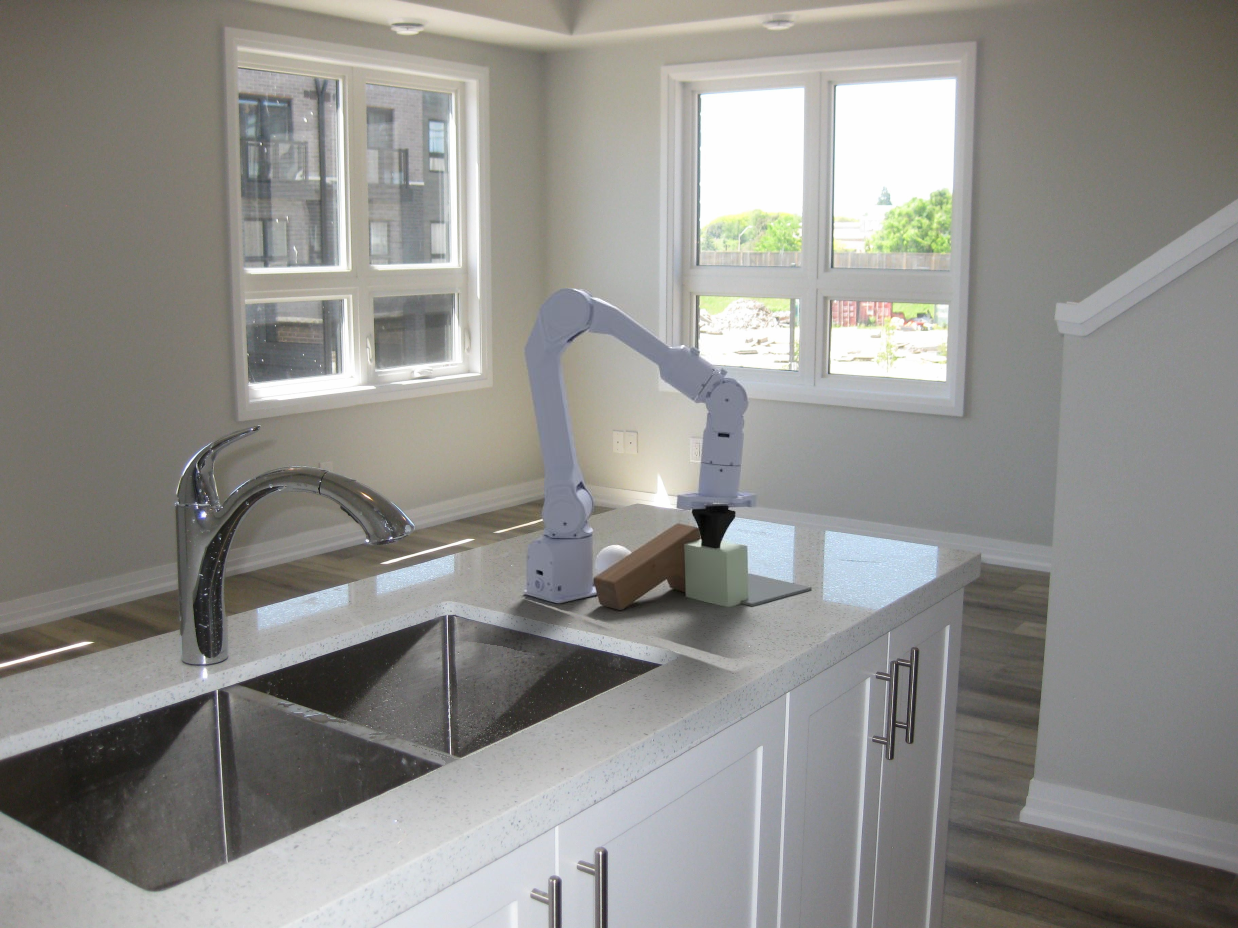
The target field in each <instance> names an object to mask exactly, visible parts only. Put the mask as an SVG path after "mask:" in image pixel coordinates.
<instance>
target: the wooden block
mask: <svg viewBox="0 0 1238 928" xmlns="http://www.w3.org/2000/svg"><path fill="white" fill-rule="evenodd" d="M699 539H701V536H700V532H699V529H698V526H693V525H688V524H683V523H675V524H674V525H672V526H670V527H669V528H667V529H666V530H664V531H663V532H661V533H660V534H659V535H657V536H655V537H654V538H652V539H651V540H649V541H648V542H646V543H644V544H643V545H641V546H640V547H639V548H637V549H635V550H634V551H633V552H631V554H629V555H628V556H626V557H625V558H623V559H621V560H620V561H618V562H617V563H615V564H614V565H612V566H611V567H609V568H608V569H606V570H605V571H603V572H602V573H600V574H598V575H597V574H596V575H595V576H593V585H594V587H595V588H596V592H597V595H596V596H597V599H598V602H599V604H600V606H603V607H607V608H610V609H614V610H617V611H623V610H624V609H626V608H627V607H629V606H630V605H632V604H633V603H635V601H637V600H639V599H641V598H642V597H643V596H644V595H646V594H647V593H649V592H650V591H651V590H653V589H655V588H656V587H657V586H659V585H660V584H662V583H663V582H665V581H667V583H668V587H669V588H670V589H672V590H676V591H680V592H683V593H686V584H685V553H684V544H686V543H689V542H692V541H696V540H699Z"/></svg>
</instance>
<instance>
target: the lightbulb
mask: <svg viewBox="0 0 1238 928" xmlns="http://www.w3.org/2000/svg"><path fill="white" fill-rule="evenodd" d="M631 553H632V552H631V551H630V550H629V549H628V548H627V547H625V546H622V545H619V544H612V545H609V546H605V547H604V548H603V549H601V550H600V551H599V552H598V554H597V556H596V557H595V562H594V563H595V564H594V570H595V572H596V576H597V575H598V574H600V573H602V572H603V571H605V570H606V569H608V568H609V567H611V566H612V565H614V564H615V563H617V562H618V561H620V560H621V559H623V558H625V557H626V556H628V555H629V554H631Z"/></svg>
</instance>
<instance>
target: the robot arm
mask: <svg viewBox="0 0 1238 928" xmlns="http://www.w3.org/2000/svg"><path fill="white" fill-rule="evenodd" d="M587 331H588V333H591V334H599V335H600V334H602V335H611V336H613V337H614V338H616V339H617V340H618V341H620V342H622V343H623V344H625V345H626V346H628V347H629V348H631V349H633V350H634V351H635V352H638V353H639V354H640V355H642V356H643V357H645V358H646V359H648V360H649V361H651V362H653V363H654V364H655V365H657V366H658V371H659V377H660V379H661V380H662V381H664V382H665V383H667V384H668V385H670V387H672V388H674V389H675V390H677V391H678V392H680V393H681V394H682V395H684V396H685V397H687V398H688V399H690V400H691V401H693V402H694V403H696V404H700V403H702V404H705V407H706V409H707V413H706V422H705V423H706V424H705V428H704V429H703V435H702V444H701V445H702V446H701V457H700V468H699V476H698V477H699V481H698V488H697V489H698V491H697V492H696V491H695V492H690V493H684V494H677V496H676V497H677V499H676V509H678V510H683V511H691V514H692V516H693V518H694V521H695V523H696V527H698V529H699V532H700V537H701V546H705V547H710V548H714V549H716V548H720V545H721V542H722V541H723V538H724V536H725V535H726V532H727V531H728V528H729V527H730V526H731V524H732V522H733V521H734V519H736V514H737V513H736V511H735V510H733V509H732V510H731V509H730V508H756V507H757V498H758V497H757V496H758V495H757V494H756V493H751V492H740V481H741V469H742V462H743V461H742V460H743V451H744V450H743V448H744V436H745V434H744V431H743V429H744V427H745V419H744V415H745V414H746V411H747V409H748V407H749V399H748V394H747V392H746V389H745V388H744V387H743V385H741V384H740V383H739V382H738V381H737V380H736V379H735V378H733V377H732V378H731V377H726V376H727V374H728V371H727V370H726V369H725V368H723V367H722V368H720V369H719V368H718V367H716V366H715V365H713V364H712V363H711V362H709V361H708V360H706V359H705V358H703V357H702V356H700V352H701V351H700V350H699V349H698V348H696V347H695V346H691V348H689V347H688V346H686V345H683V344H681V345H678V346H670V345H669V344H667V343H666V342H664V341H663V340H662V339H660V338H659V337H657V336H656V335H655V334H654V333H652V332H651V331H649V330H648V329H647V328H645V326H643V325H641V324H640V323H638V322H637V321H636V320H635V319H633V318H632V317H630V316H629V315H628V314H627V313H625V311H622V310H621V309H620V308H618V307H616V306H615V305H613V304H611V303H609V302H607V301H605V300H603V299H601V298H599V297H594V295H593V294H591V293H590V292H589V291H587V290H586V289H583V288H582V289H581V288H572V287H563V288H559V289H557V290H556V291H554V292H553V293H552V294H550V296H549V297H548V298H547V299H546V300H545V301H544V302H543V303H542V304H541V305H540V306H539V308H538V312H537V316H536V319H535V322H534V324H533V327H532V329H531V331H530V334H529V337H528V339H527V342H526V344H525V346H524V357H525V363H526V367H527V374H528V380H529V385H530V386H529V387H530V391H531V396H532V403H533V408H534V413H535V415H534V416H535V420H536V426H537V433H538V439H539V444H540V449H541V455H542V461H543V468H544V480H543V481H544V484H543V490H544V503H543V507H542V510H541V518H542V522H543V524H544V526H545V527H544V529H543V534H542V535H541V536H540V537H539V538H537V539H534V540H532V541H531V542H530V543H529V545H528V547H527V550H526V589H524V590H522V593H523V594H524V595H527V596H530V597H534V598H537V599H540V600H544V601H548V602H551V603H555V604H562V603H566V602H571V601H576V600H579V599H583V598H589V597H593V596H597V592H596V588H595V585H594V581H593V578H594V529H593V528H592V527H591V526H590V523H589V522H588V520H589V519H590V518H591V516H592V514H593V512H594V509H595V501H594V500H595V499H594V497H593V495H592V493H591V491H590V490H589V489H588V488H587V486H586V484H585V480H584V474H583V472H582V470H581V467H580V465H579V460H578V455H577V450H576V449H577V448H576V443H575V436H574V432H573V425H572V421H571V413H570V407H569V403H568V397H567V390H566V383H565V378H564V373H563V366H562V361H561V359H562V358H561V357H562V355H564V354H565V352H566V351H567V349H568V348H569V347H570V346H571V345H572V343H573V341H574V340H575V339H576V338H578V337H580V336H581V335H582V334H584V333H585V332H587Z"/></svg>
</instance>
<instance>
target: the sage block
mask: <svg viewBox="0 0 1238 928" xmlns="http://www.w3.org/2000/svg"><path fill="white" fill-rule="evenodd" d="M684 553H685V584H686V592H685V597H686V598H688V599H689V598H690V599H693V600H697V601H702V602H705V603H709V604H713V605H718V606H721V607H725V608H731V607H735V606H737V605H740V603H741V601H742V600H746V599H749V598H748V574H749V564H748V562H749V561H748V560H749V558H748V555H749V554H748V545H745V544H739V543H734V542H730V541H724V540H722V542H721V545H720V548H716V549H714V548H710V547H705V546H701V539H699V540H696V541H692V542H689V543H686V544H684Z"/></svg>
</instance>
